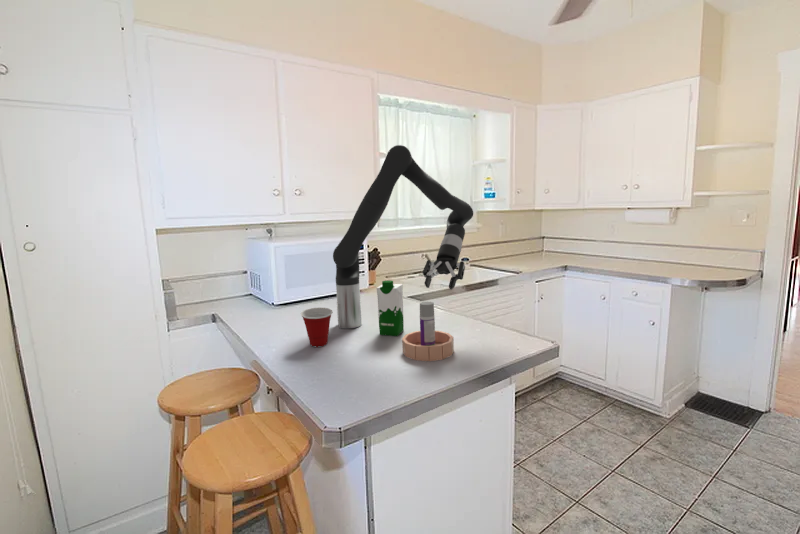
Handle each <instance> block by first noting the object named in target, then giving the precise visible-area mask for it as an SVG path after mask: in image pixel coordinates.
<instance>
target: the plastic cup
mask: <svg viewBox="0 0 800 534" xmlns="http://www.w3.org/2000/svg"><path fill="white" fill-rule="evenodd" d="M332 314H333V310H332V309H330V308H328V307H311V308H307V309H305V310H302V311H300V316H301V317H302V319H303V322H304V325H305V329H306V333H307V337H308V341H309V344H310V346H311V345H312V346H316V347H315V348H319V347H318V346H322V347H324V345H325V346H326V345H327V344H328V341H329V340H328V339H329V332H330V321H331V318H332ZM312 346H311V347H312Z"/></svg>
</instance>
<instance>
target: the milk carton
mask: <svg viewBox="0 0 800 534" xmlns="http://www.w3.org/2000/svg"><path fill="white" fill-rule="evenodd" d="M403 287H404V286H403V283H401V284H400V283H394V280H390V279H388V280H382V281H381V284H380V285H379V286H377V287H376V295H377V296H376V297H377V310H378V311H377V313H378V314H377V315H378V316H377V317H378V329H379V335H380V336H390V337H398V336H400V335H401V333H403V331H404V329H405V328H404V322H405V321H404V298H403Z"/></svg>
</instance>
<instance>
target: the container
mask: <svg viewBox="0 0 800 534" xmlns="http://www.w3.org/2000/svg"><path fill="white" fill-rule="evenodd" d="M435 320H436V319H435V304H434V302H433V301H420V302H419V325H420V326H419V329H420V330H419V331H420V336H421V345H422V346H432V345H435V331H436V326H435V325H436V322H435Z"/></svg>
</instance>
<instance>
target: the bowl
mask: <svg viewBox="0 0 800 534" xmlns="http://www.w3.org/2000/svg"><path fill="white" fill-rule="evenodd" d="M454 339H455V338H454V336H453V335H451V334H450V333H449V332H446V331H442V330H435V345H432V346H422V345H421V336H420V330H417V331H412V332H409V333H407V334H405V335H404V336H403V337H402V338H401V345H402V353H403V354H404V356H405V357H406V358H408V359H411V360H414V361H421V362H422V361H423V362H434V361H442V360H445V359H447V358H449V357H451V356H452V355H453V353H454V352H455V351H454V350H455V347H454V346H455V345H454V343H455V342H454Z"/></svg>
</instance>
